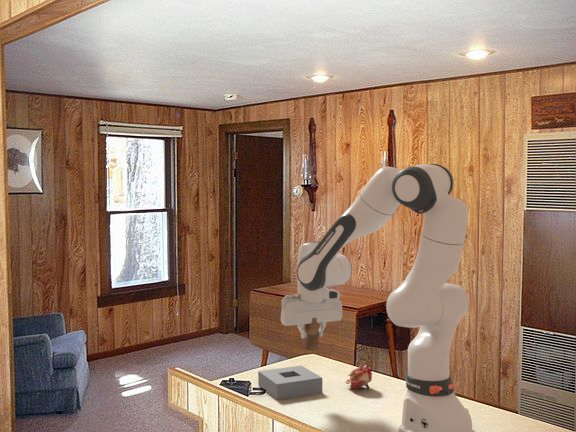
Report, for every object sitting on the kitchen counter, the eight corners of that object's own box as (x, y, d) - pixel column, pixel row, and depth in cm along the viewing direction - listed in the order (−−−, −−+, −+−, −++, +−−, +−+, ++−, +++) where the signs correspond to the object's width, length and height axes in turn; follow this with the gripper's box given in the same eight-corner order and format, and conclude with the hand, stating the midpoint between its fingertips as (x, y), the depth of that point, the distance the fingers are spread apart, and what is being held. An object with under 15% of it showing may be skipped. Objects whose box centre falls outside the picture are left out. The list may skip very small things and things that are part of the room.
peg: (320, 349, 185) (320, 317, 184) (308, 350, 183) (308, 318, 183) (314, 346, 188) (314, 315, 188) (303, 347, 187) (303, 316, 186)
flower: (379, 380, 199) (365, 359, 201) (380, 382, 190) (366, 361, 192) (355, 396, 199) (341, 376, 201) (355, 400, 190) (341, 378, 192)
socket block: (322, 393, 192) (322, 377, 191) (276, 400, 185) (276, 384, 185) (301, 379, 206) (301, 365, 206) (258, 385, 200) (258, 371, 200)
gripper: (285, 297, 178) (285, 342, 178) (344, 292, 186) (344, 336, 187) (277, 294, 184) (277, 338, 184) (335, 289, 192) (335, 332, 193)
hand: (311, 337), depth 186 cm, fingers closed on peg, 4 cm apart
